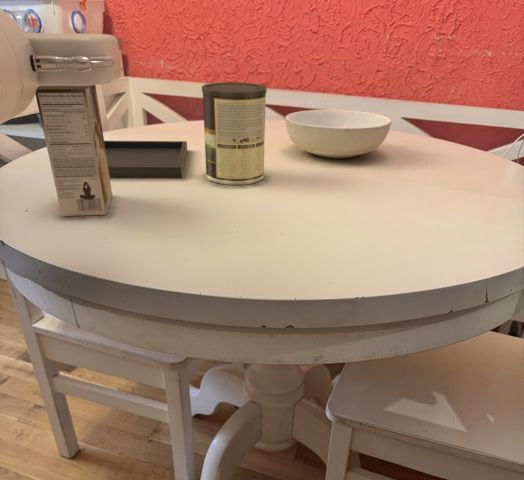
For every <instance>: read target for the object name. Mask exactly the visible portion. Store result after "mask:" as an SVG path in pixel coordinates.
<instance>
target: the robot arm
mask: <svg viewBox="0 0 524 480" xmlns="http://www.w3.org/2000/svg"><path fill="white" fill-rule="evenodd" d="M121 62H122V61H121V53H120V47H119V41H118V38H117V37H116V36H114V35H112V34H108V33H62V32H61V33H59V32H24V29H22V27H21V26H20V25H19V23H18V22H17V21H16V20H15V19H14V17H12V16H11V15H10V14H9V13H7V12H6V11H5V9H3V8H1V7H0V125H1V124H4V123H6V122H7V121H10V120H12V119H14V118H15V117H18V116H19V115H21V114H22V113H23V112H24V111H25V110H27V109H28V107H29V106H30V105H31V103H32V102H33V100H34V98H35V97H36V95H35V93H36V90H37V87H38V86H91V85H96V86H100V85H106V84H110V83H113V82H115V81H118V80H119V79H121V77H122V75H123V74H122V73H123V72H122V63H121Z"/></svg>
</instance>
